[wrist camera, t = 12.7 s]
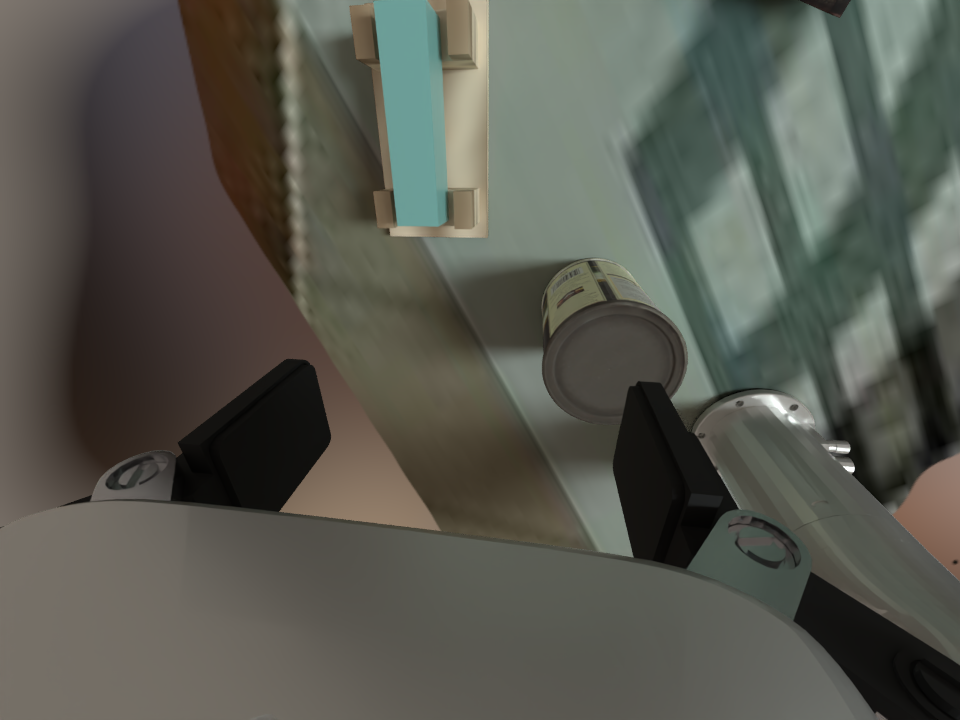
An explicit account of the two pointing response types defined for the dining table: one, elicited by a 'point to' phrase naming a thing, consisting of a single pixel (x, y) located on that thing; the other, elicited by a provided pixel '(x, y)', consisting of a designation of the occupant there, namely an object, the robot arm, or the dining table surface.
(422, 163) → the teal rectangular block
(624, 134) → the dining table surface
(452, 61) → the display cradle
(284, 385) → the robot arm
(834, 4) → the diary
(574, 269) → the coffee can
